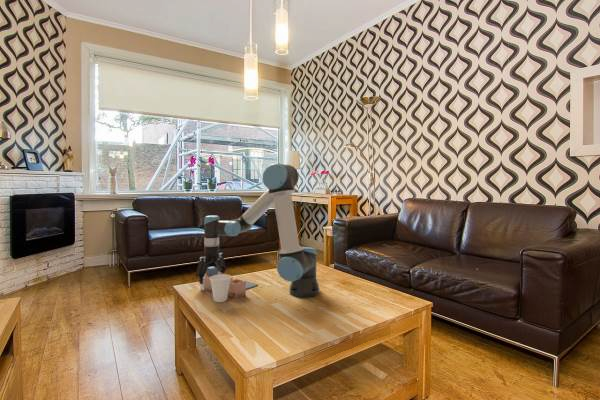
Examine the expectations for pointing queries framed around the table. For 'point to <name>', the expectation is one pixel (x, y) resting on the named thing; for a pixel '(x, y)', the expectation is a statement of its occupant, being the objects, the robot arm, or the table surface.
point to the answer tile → (250, 285)
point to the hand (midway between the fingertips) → (211, 286)
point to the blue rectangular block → (211, 271)
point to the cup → (220, 287)
